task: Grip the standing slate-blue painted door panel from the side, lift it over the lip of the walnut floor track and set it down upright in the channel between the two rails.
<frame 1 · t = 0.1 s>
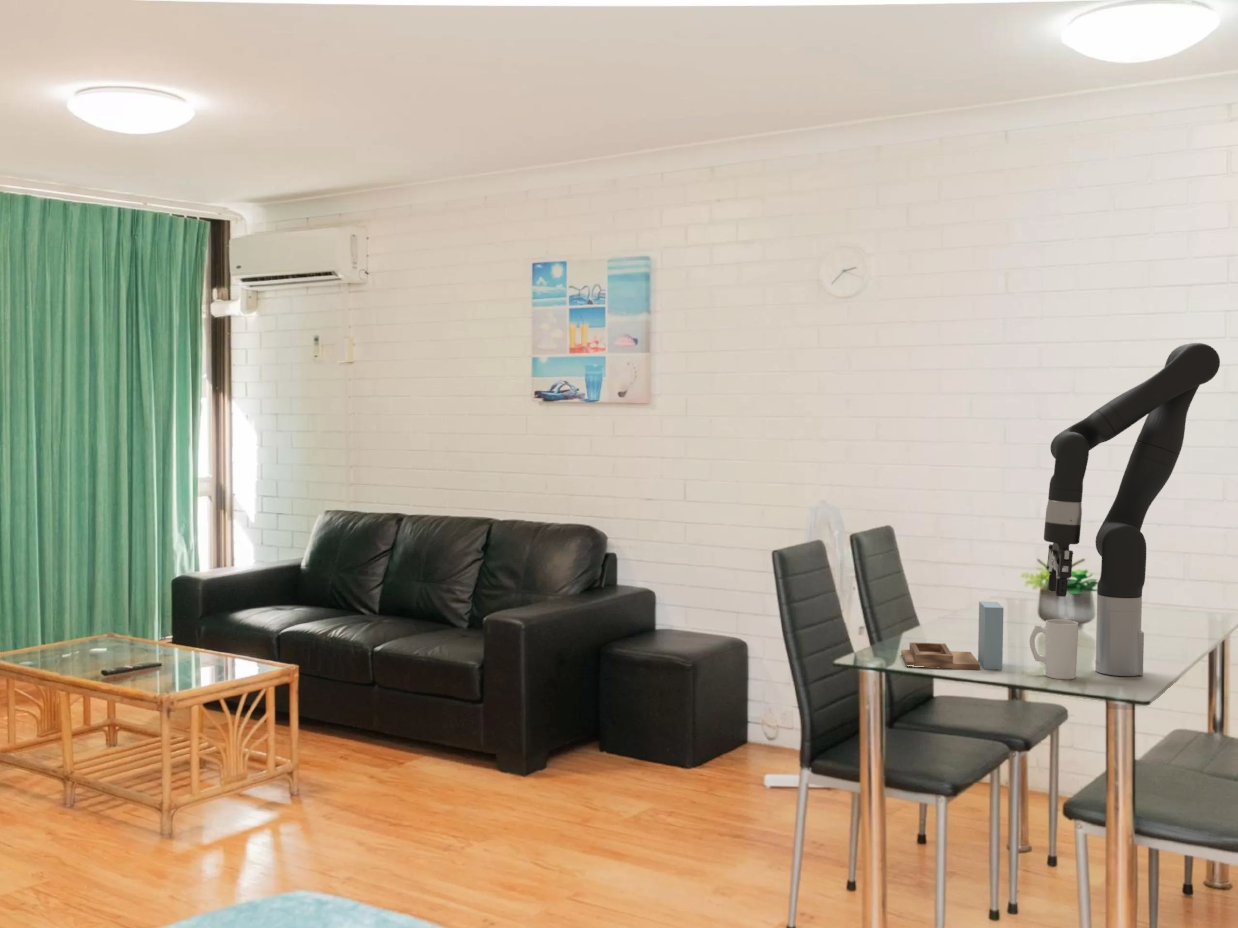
hand: (1056, 593, 272), 17 cm above the table, tool pointing down, fingers open, 8 cm apart
mug: (1052, 676, 267), on the table
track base: (939, 661, 282), on the table
door panel: (989, 665, 278), on the table
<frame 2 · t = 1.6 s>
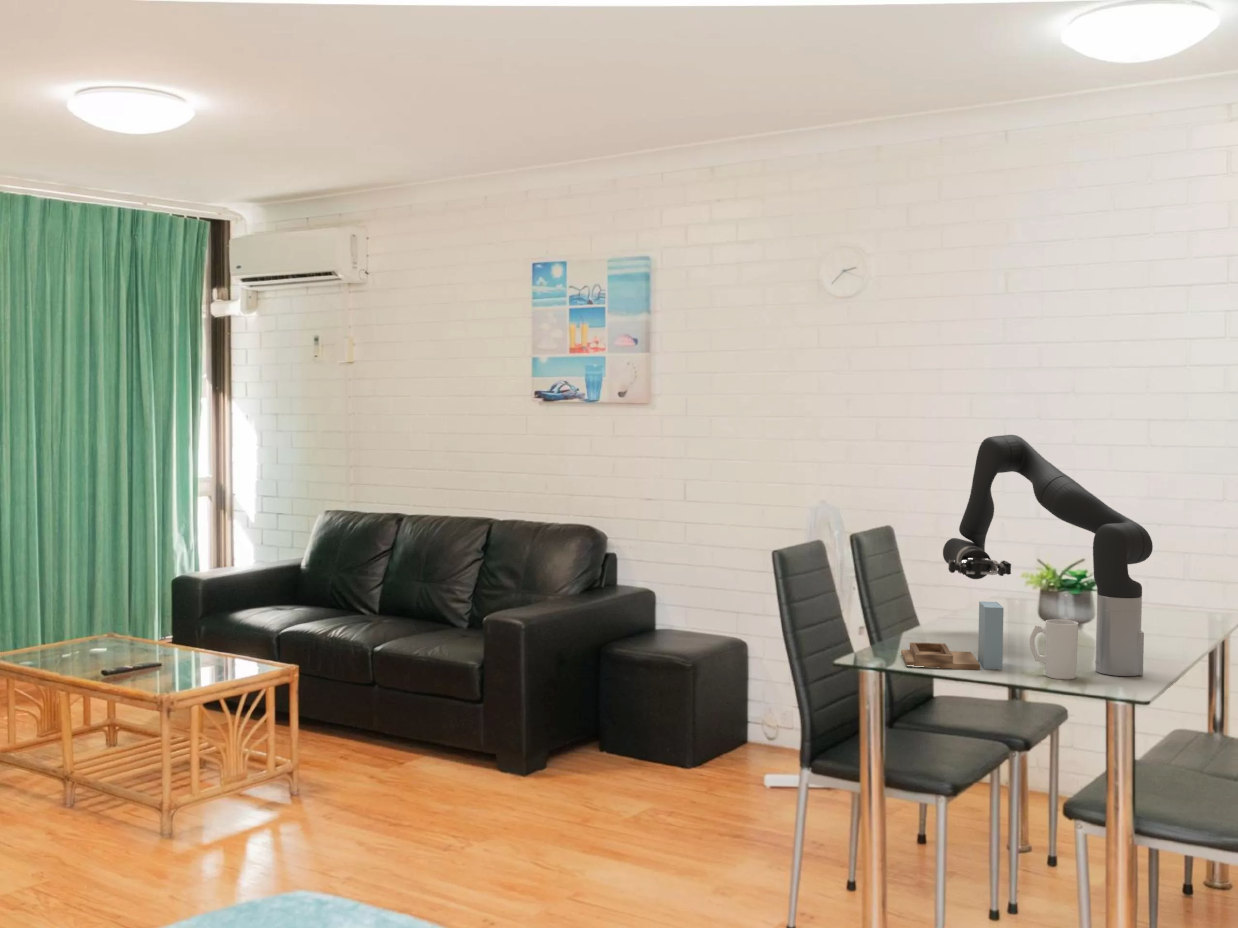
hand: (983, 570, 288), 20 cm above the table, tool horizontal, fingers open, 8 cm apart
nothing on the table moved.
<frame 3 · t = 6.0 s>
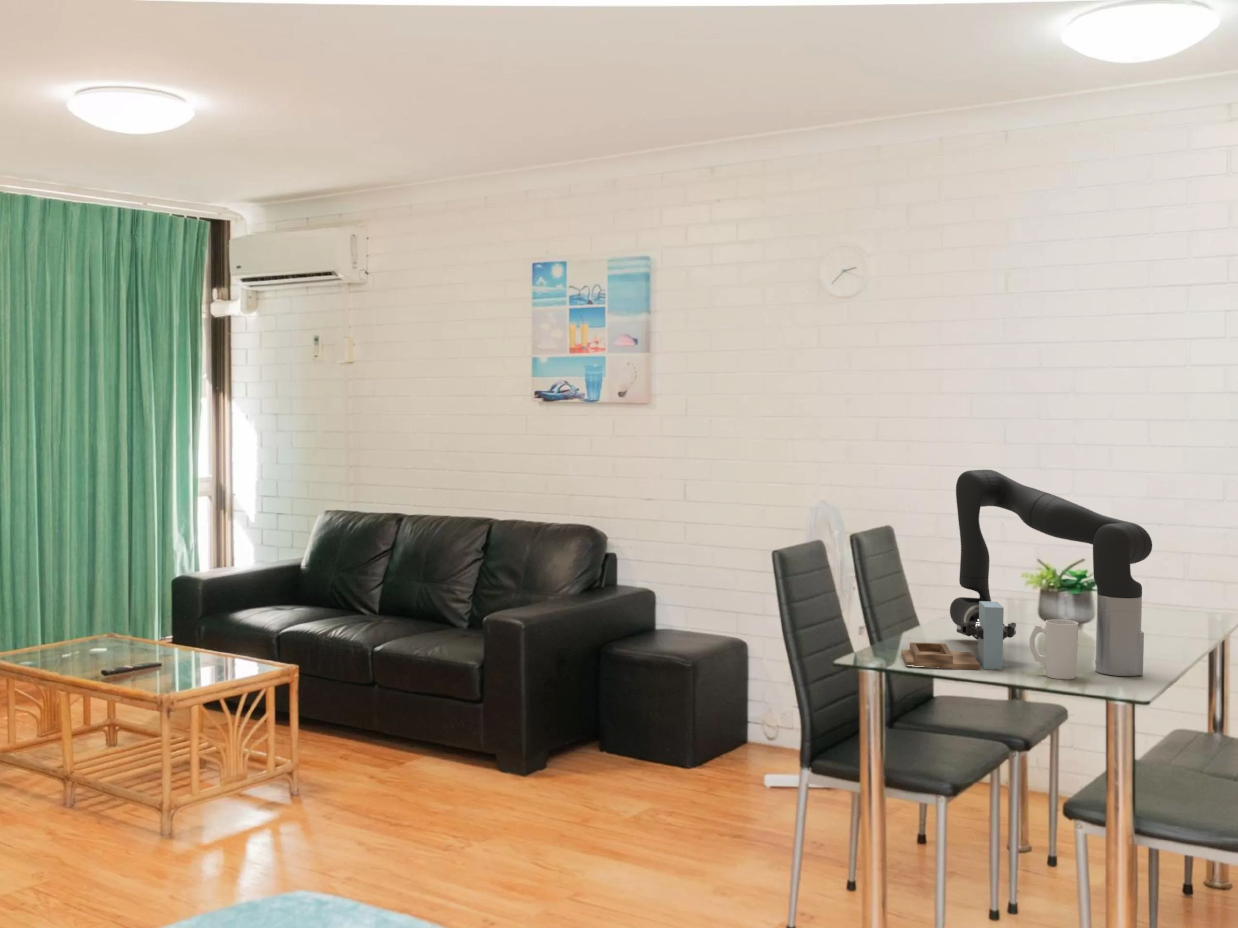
hand: (992, 634, 275), 8 cm above the table, tool horizontal, fingers closed on door panel, 4 cm apart
door panel: (990, 665, 278), on the table, touching gripper
everything else where it was.
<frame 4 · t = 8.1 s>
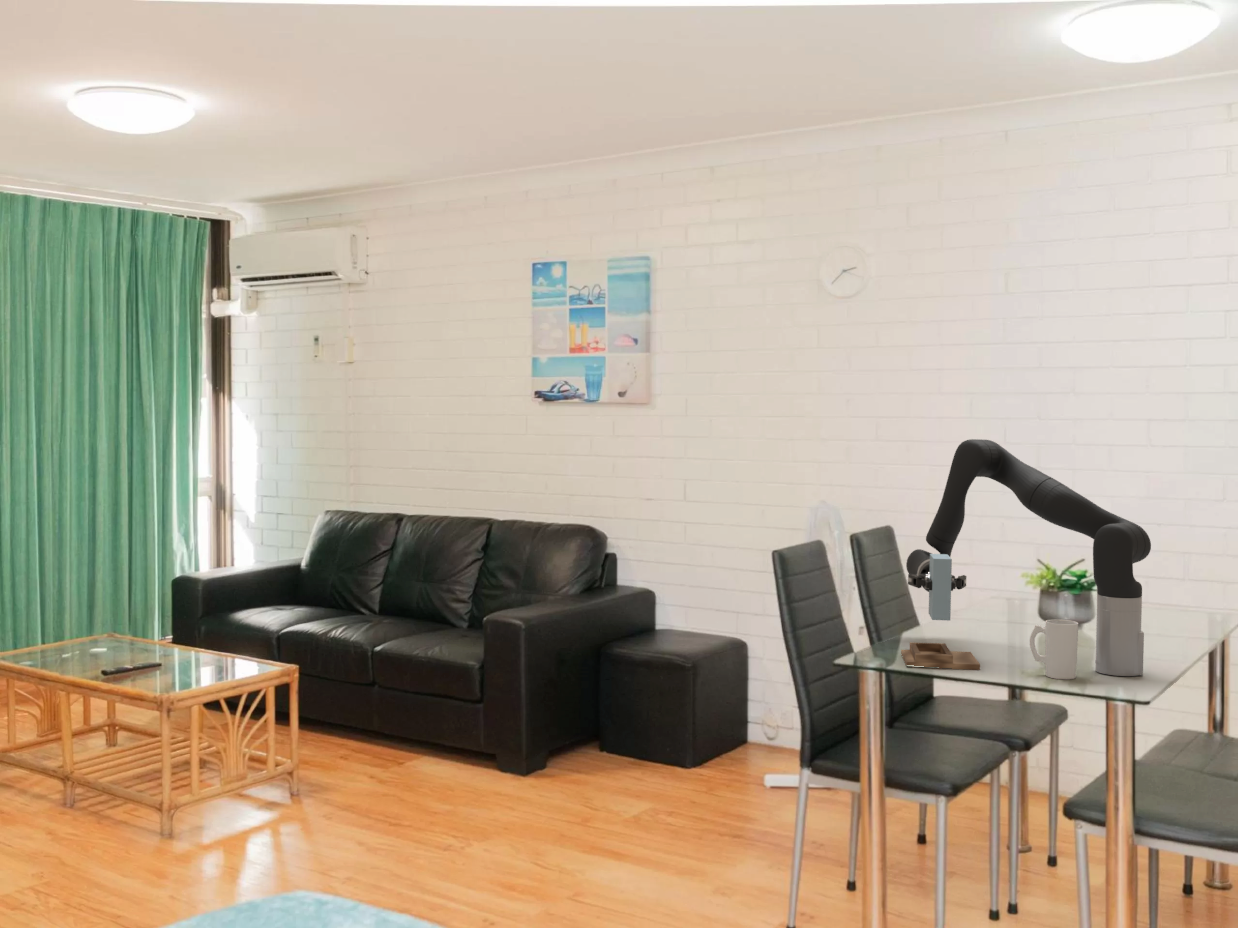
hand: (941, 585, 279), 18 cm above the table, tool horizontal, fingers closed on door panel, 4 cm apart
door panel: (939, 616, 282), point 10 cm above the table, touching gripper
everything else where it was.
when the fingers open (10 cm above the table, at t = 10.2 s): door panel stays where it is, resting on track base.
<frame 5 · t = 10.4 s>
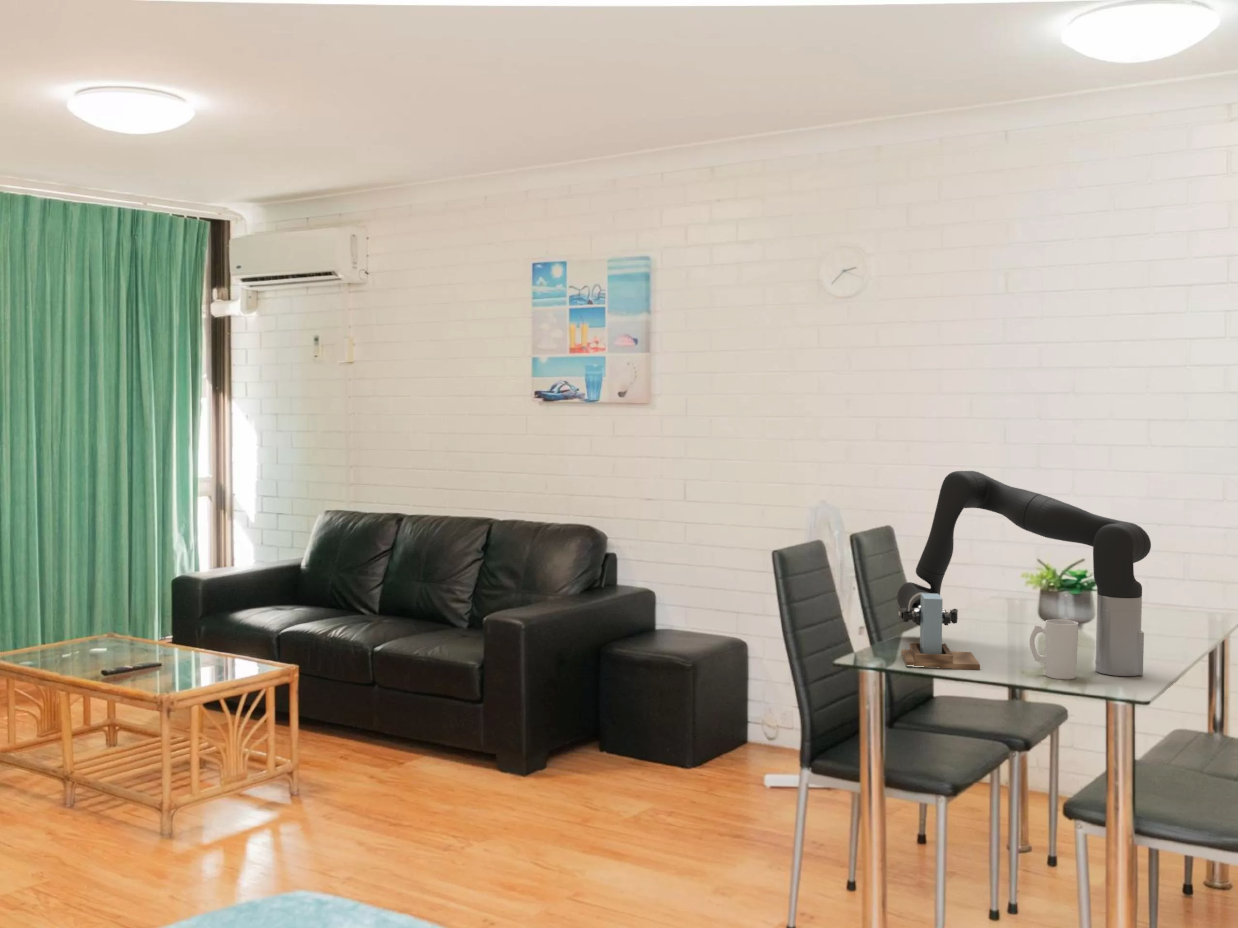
hand: (932, 620, 279), 10 cm above the table, tool horizontal, fingers open, 6 cm apart
door panel: (930, 656, 282), point 1 cm above the table, touching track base
everything else where it was.
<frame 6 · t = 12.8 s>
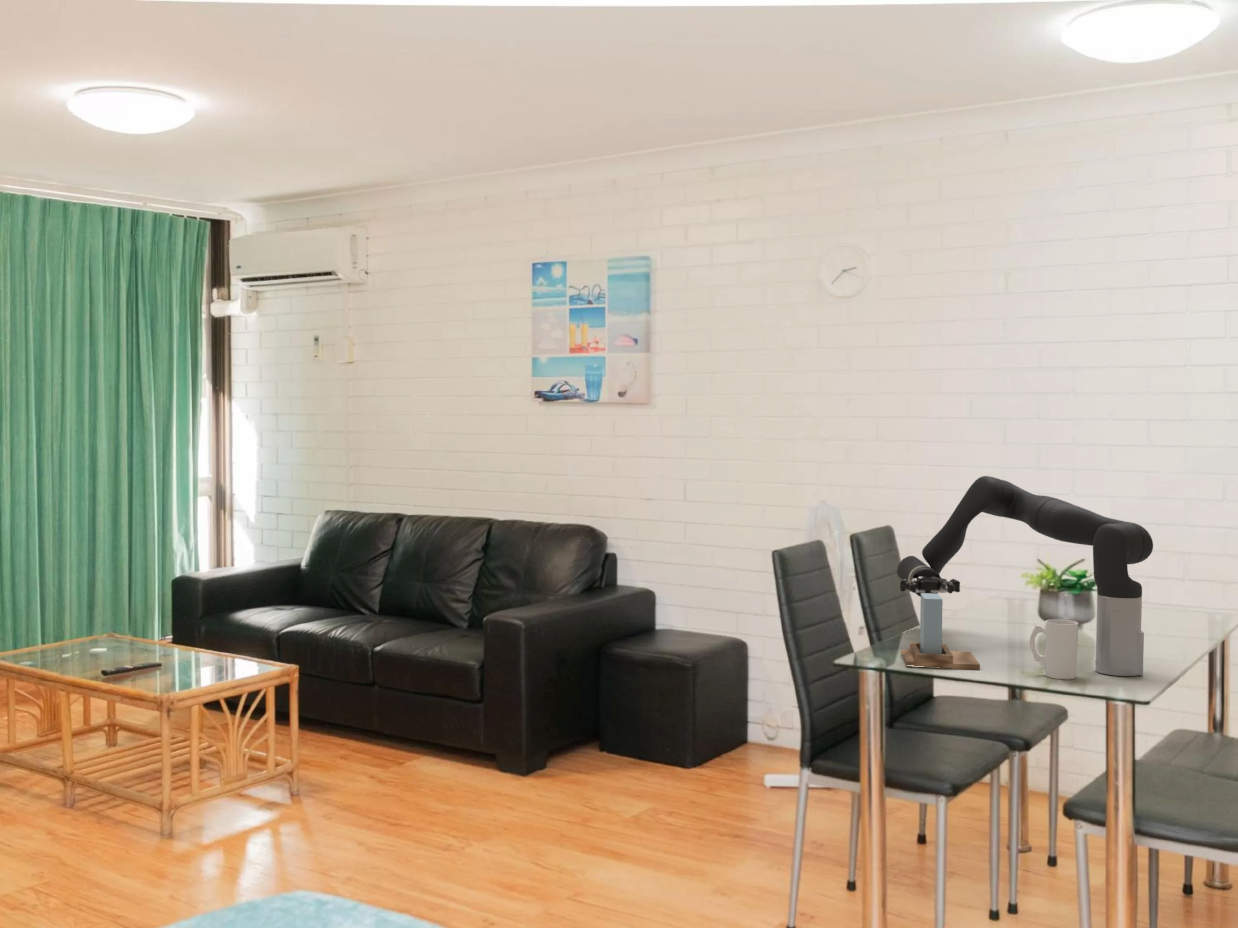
hand: (932, 588, 293), 15 cm above the table, tool horizontal, fingers open, 8 cm apart
nothing on the table moved.
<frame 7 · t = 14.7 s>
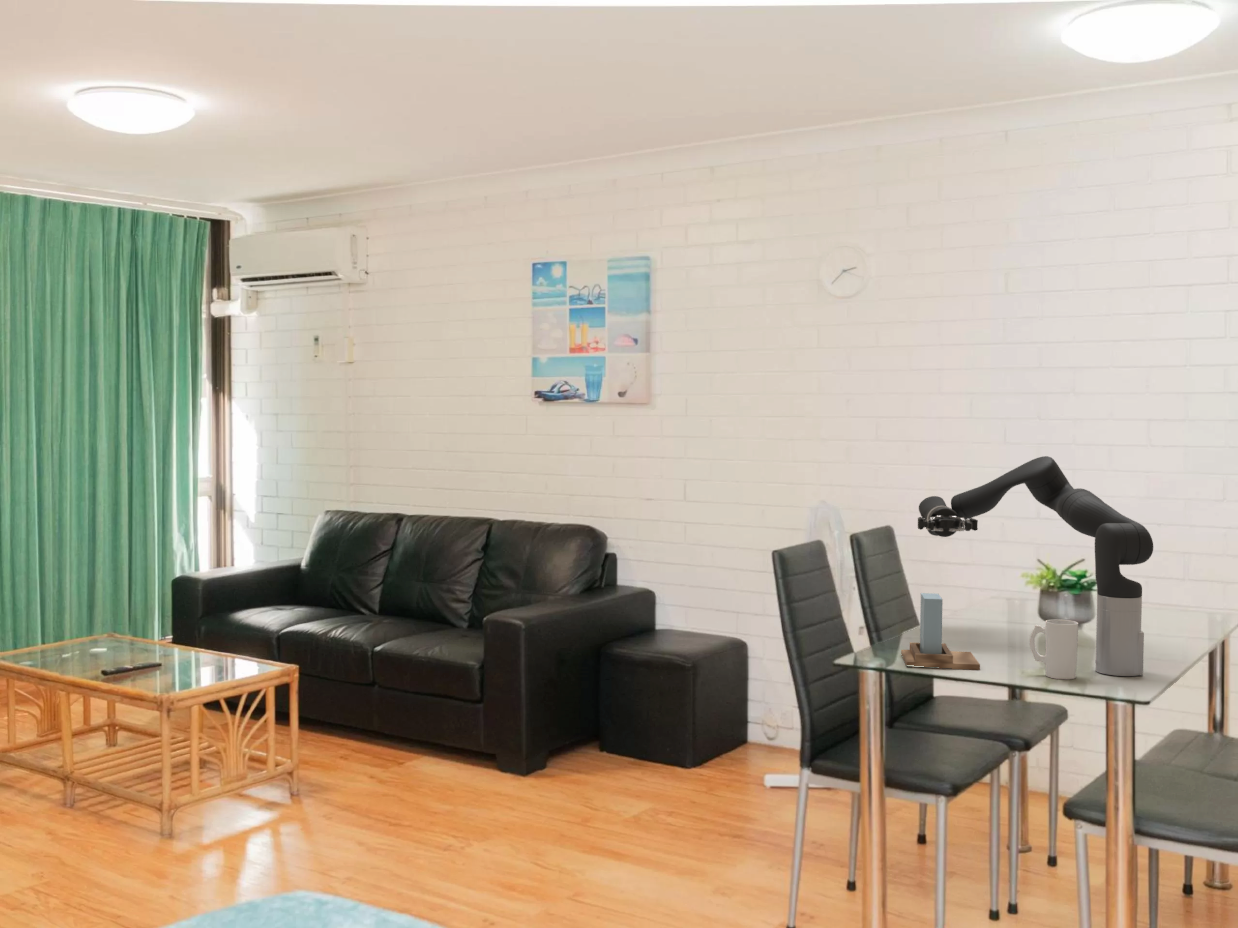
hand: (950, 526, 297), 30 cm above the table, tool horizontal, fingers open, 8 cm apart
nothing on the table moved.
at the end: door panel inside the target area on the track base (0.1 cm from its centre), point 1.2 cm above the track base's base; door panel tilted 0°; the gripper is holding nothing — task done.
